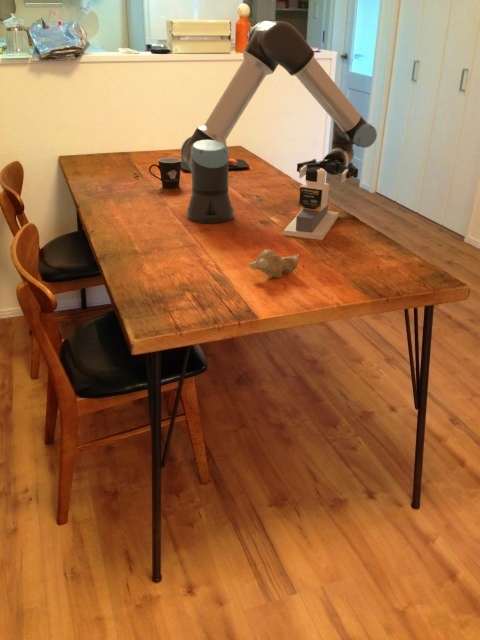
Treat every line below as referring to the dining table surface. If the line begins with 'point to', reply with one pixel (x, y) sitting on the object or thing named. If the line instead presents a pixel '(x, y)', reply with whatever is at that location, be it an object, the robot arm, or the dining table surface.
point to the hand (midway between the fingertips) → (321, 176)
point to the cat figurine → (274, 263)
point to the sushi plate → (229, 164)
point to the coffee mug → (169, 172)
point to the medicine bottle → (314, 190)
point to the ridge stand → (311, 224)
